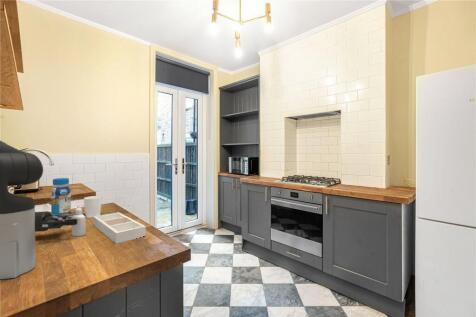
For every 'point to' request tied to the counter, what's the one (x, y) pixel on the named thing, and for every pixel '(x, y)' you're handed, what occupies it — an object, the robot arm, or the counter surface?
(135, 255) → the counter surface
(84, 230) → the eye dropper bottle
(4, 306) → the counter surface
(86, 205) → the white cup
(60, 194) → the beverage bottle
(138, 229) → the rack
